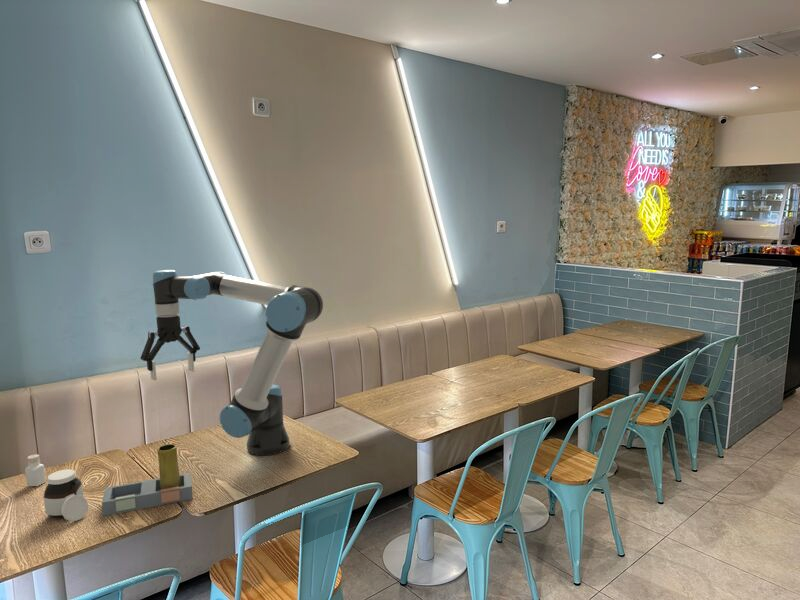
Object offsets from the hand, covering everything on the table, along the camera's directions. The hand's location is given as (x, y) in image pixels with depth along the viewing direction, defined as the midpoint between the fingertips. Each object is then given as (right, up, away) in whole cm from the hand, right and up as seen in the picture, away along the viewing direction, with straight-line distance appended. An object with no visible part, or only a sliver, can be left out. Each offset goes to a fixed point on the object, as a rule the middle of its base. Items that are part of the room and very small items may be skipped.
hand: (173, 375), depth 204 cm
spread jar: (-15, -35, -37) cm, 53 cm away
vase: (+10, -32, -27) cm, 43 cm away
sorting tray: (+4, -33, -29) cm, 45 cm away
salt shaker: (-37, -33, -17) cm, 52 cm away
